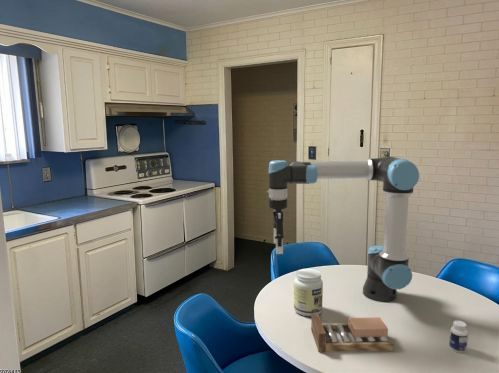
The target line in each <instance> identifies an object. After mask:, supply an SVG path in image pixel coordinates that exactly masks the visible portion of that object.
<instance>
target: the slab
mask: <svg viewBox="0 0 499 373" xmlns="http://www.w3.org/2000/svg"><path fill="white" fill-rule="evenodd" d="M347 321H348V322H347V323H348V326H349V328H350V330H351V332H352V334H353V336H354V337H361V338H366V337H373V338H376V337H377V338H378V337H383V336H385V337H388V334H389V327H387V325H386V324H385V322H384V321H383V320H382V319H381V317H348V320H347ZM351 332H350V333H351ZM352 334H351V335H352ZM353 336H352V337H353Z"/></svg>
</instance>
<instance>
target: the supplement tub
mask: <svg viewBox="0 0 499 373" xmlns="http://www.w3.org/2000/svg"><path fill="white" fill-rule="evenodd" d="M323 287H324V283H323V280H322V273H321V272H320V271H319V270H316V269H313V268H302V269H298V270H297V271H296V275H295V278H294V281H293V310H294V311H295V312H296V313H297V314H298V315H300V316H303V317H312V313H318V315H319V314H321V313H322V311H323V298H324V297H323V294H324V293H323V291H324V288H323Z"/></svg>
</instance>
